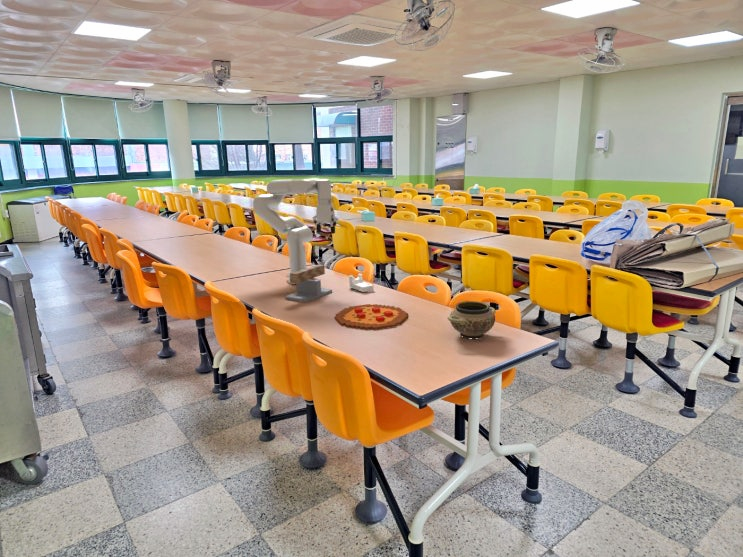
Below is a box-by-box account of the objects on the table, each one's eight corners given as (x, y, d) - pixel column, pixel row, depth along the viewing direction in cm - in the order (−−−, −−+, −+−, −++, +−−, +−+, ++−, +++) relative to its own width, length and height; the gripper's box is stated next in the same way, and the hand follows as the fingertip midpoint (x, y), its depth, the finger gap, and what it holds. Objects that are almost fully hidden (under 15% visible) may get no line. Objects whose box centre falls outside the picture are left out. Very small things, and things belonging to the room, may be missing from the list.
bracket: (349, 288, 271) (349, 275, 269) (360, 286, 275) (359, 273, 273) (362, 293, 261) (362, 280, 259) (373, 291, 265) (373, 278, 263)
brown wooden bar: (319, 273, 266) (319, 264, 265) (324, 273, 264) (324, 264, 263) (290, 282, 247) (289, 273, 245) (295, 283, 245) (295, 274, 243)
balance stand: (285, 298, 252) (284, 281, 250) (311, 289, 270) (311, 272, 268) (306, 302, 245) (305, 284, 243) (332, 292, 263) (331, 275, 261)
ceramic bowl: (482, 331, 209) (477, 297, 208) (513, 333, 193) (507, 296, 193) (437, 343, 196) (432, 307, 196) (467, 346, 181) (461, 307, 181)
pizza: (389, 304, 242) (389, 298, 241) (418, 324, 213) (418, 317, 212) (328, 312, 230) (327, 306, 230) (349, 334, 201) (349, 327, 201)
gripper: (341, 201, 265) (342, 233, 269) (316, 200, 274) (317, 231, 278) (333, 203, 259) (334, 234, 263) (308, 202, 268) (309, 232, 272)
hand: (325, 232), depth 270 cm, fingers open, 9 cm apart
